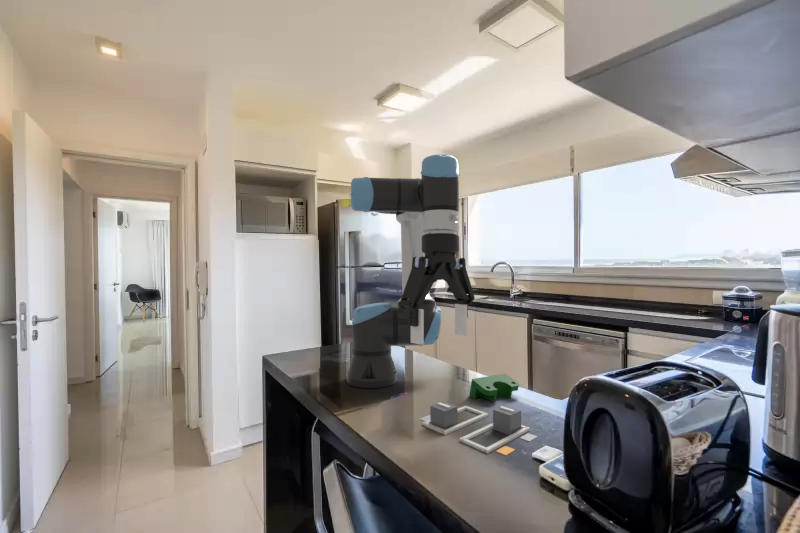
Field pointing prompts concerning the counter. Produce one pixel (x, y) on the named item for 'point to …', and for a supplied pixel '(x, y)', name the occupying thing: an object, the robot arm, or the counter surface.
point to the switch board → (466, 439)
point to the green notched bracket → (493, 387)
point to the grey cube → (506, 419)
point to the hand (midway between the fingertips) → (440, 339)
